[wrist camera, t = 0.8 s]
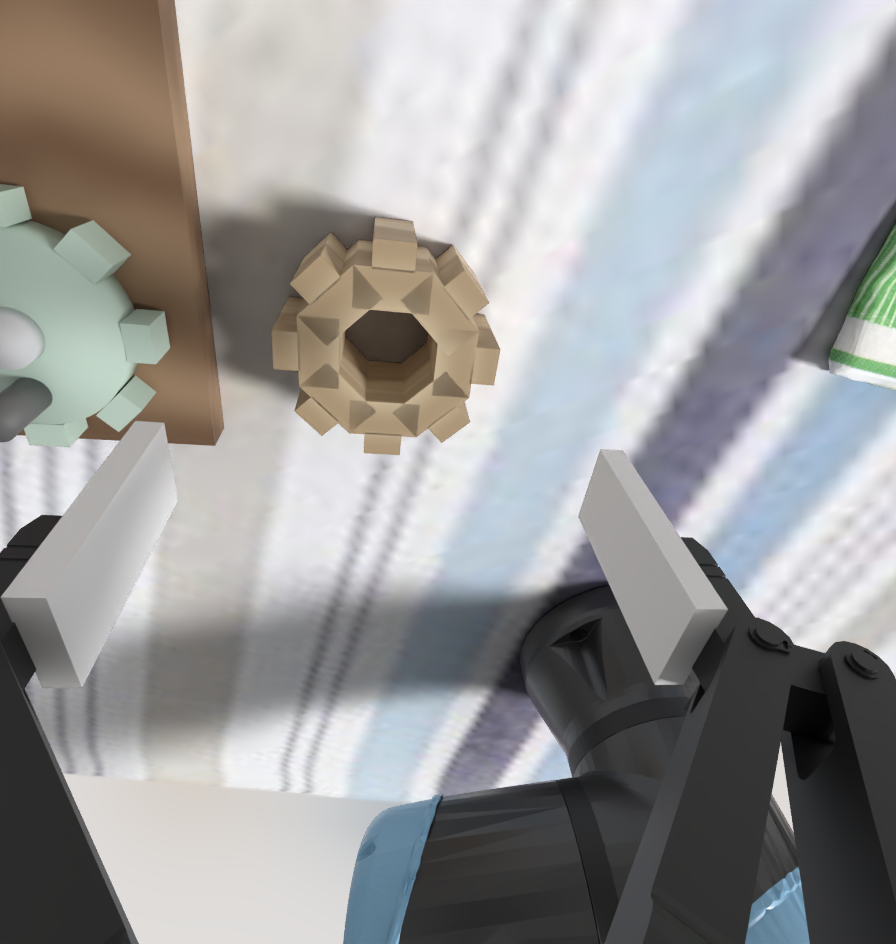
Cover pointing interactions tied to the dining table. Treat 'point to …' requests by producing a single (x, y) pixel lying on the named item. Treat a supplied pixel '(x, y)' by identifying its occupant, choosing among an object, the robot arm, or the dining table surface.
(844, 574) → the dining table surface
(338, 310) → the beech gear
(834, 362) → the dish towel
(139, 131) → the gear board
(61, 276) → the gear
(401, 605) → the dining table surface
